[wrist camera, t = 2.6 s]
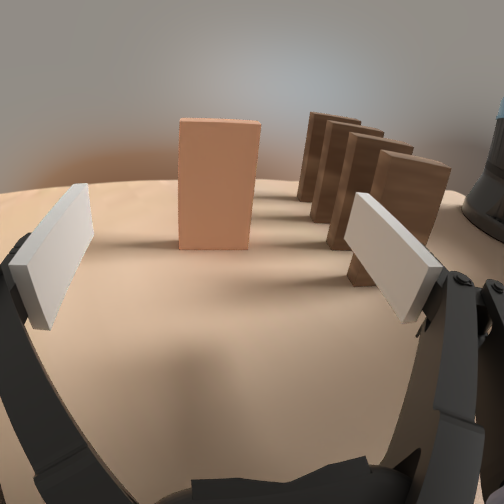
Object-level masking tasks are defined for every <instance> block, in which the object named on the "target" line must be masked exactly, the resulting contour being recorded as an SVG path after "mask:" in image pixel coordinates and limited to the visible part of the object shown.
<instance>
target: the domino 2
mask: <svg viewBox="0 0 504 504" xmlns="http://www.w3.org/2000/svg"><path fill="white" fill-rule="evenodd" d="M327 120H331V121H337V122H343V123H349V124H355V125H360V126H361V121H359V120H357V119H353V118H348V117H341V116H336V115H330V114H323V113H317V112H310V117H309V124H308V131H307V138H306V143H305V150H304V156H303V163H302V169H301V176H300V181H299V187H298V193H297V197H298V199H299V200H300V202H313V197H314V191H315V186H316V181H317V175H318V170H319V164H320V159H321V153H322V147H323V141H324V135H325V129H326V123H327Z"/></svg>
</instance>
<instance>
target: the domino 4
mask: <svg viewBox="0 0 504 504" xmlns="http://www.w3.org/2000/svg"><path fill="white" fill-rule="evenodd" d="M413 149H414V147H412V146H411V145H409V144H407V143H405V142H401V141H396V140H391V139H387V138H381V137H376V136H371V135H365V134H360V133H354V132H349V138H348V143H347V148H346V153H345V158H344V163H343V168H342V173H341V178H340V183H339V187H338V192H337V196H336V201H335V205H334V210H333V214H332V219H331V223H330V227H329V231H328V235H327V240H326V242H327V244H328V245H329V247H330V248H331V250H352V249H351V248H350V246H349V245H348V244H347V242H346V241H345V239H344V236H345V233H346V229H347V225H348V221H349V218H350V214H351V210H352V206H353V202H354V198H355V194H356V192H360V193H369V194H370V192H371V188H372V184H373V180H374V176H375V171H376V167H377V163H378V159H379V154H380V150H387V151H392V152H397V153H403V154H408V155H412V153H413Z"/></svg>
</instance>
